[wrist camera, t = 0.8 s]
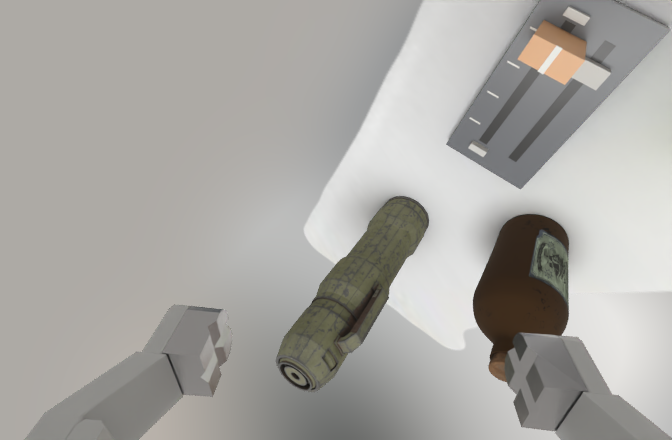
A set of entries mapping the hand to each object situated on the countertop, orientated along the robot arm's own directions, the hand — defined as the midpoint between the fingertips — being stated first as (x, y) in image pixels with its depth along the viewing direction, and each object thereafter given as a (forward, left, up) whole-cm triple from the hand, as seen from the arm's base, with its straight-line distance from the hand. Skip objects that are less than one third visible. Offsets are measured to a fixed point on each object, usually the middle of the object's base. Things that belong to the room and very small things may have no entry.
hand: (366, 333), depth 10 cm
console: (+5, +4, -46) cm, 47 cm away
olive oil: (+23, +17, -46) cm, 54 cm away
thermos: (+33, -1, -46) cm, 57 cm away
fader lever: (-1, +2, -44) cm, 44 cm away
